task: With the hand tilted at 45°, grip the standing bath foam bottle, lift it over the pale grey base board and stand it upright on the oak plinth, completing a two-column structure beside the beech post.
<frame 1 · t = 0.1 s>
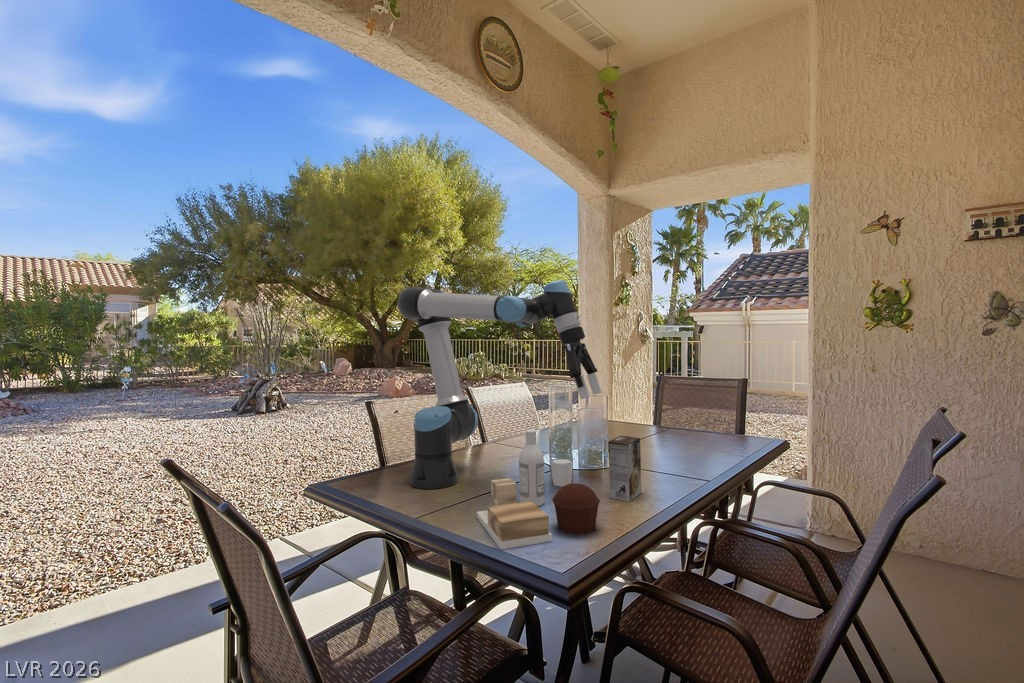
hand: (591, 395, 145), 28 cm above the table, tool tilted 20°, fingers open, 13 cm apart
muffin: (576, 528, 115), on the table
white cup: (562, 484, 150), on the table
bath foam: (532, 503, 133), on the table
beech post: (504, 513, 121), resting on base board
coffee box: (625, 496, 138), on the table
base board: (512, 528, 115), on the table
oak plinth: (517, 528, 111), resting on base board
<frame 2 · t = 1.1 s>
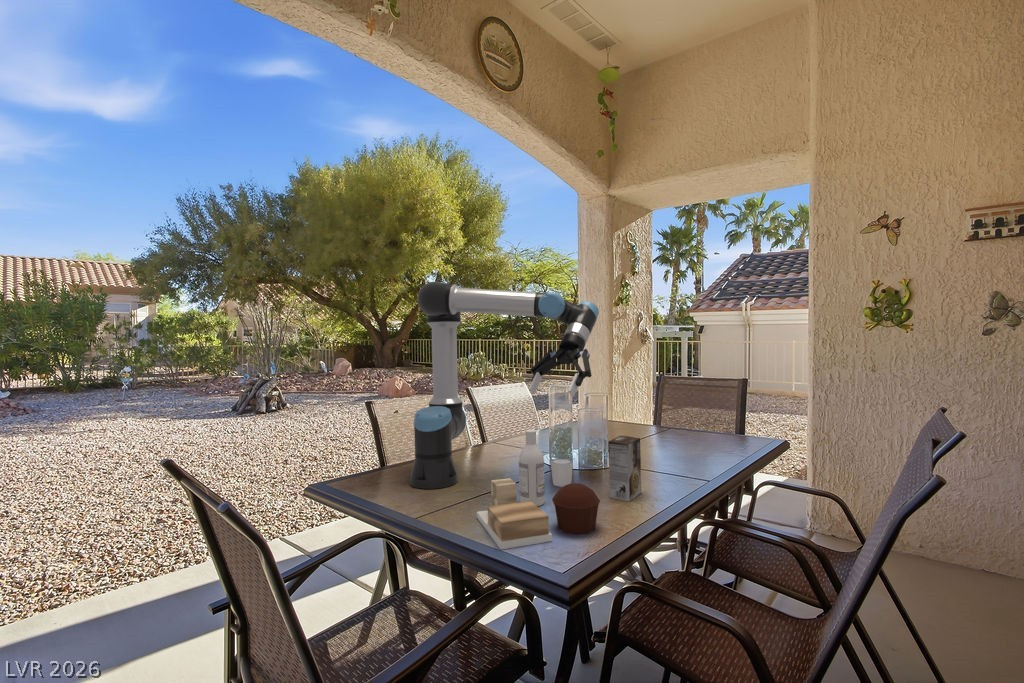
hand: (550, 392, 141), 29 cm above the table, tool tilted 45°, fingers open, 13 cm apart
nothing on the table moved.
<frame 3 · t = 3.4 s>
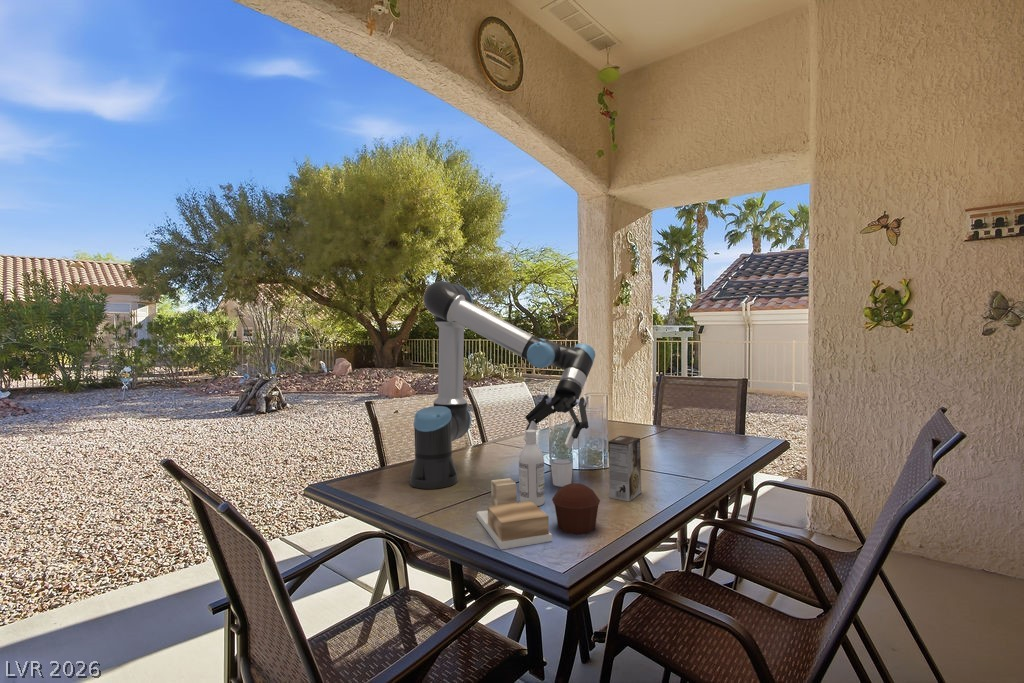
hand: (546, 444, 137), 15 cm above the table, tool tilted 45°, fingers open, 13 cm apart
nothing on the table moved.
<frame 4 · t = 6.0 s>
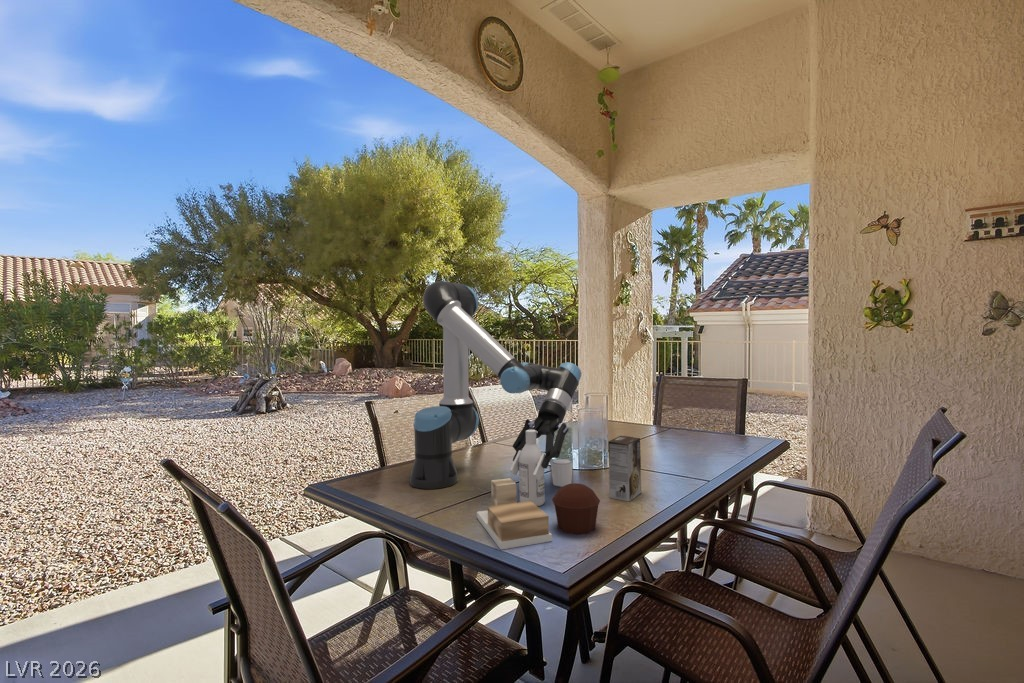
hand: (524, 475, 130), 9 cm above the table, tool tilted 45°, fingers closed on bath foam, 7 cm apart
bath foam: (532, 503, 133), on the table, touching gripper
everything else where it was.
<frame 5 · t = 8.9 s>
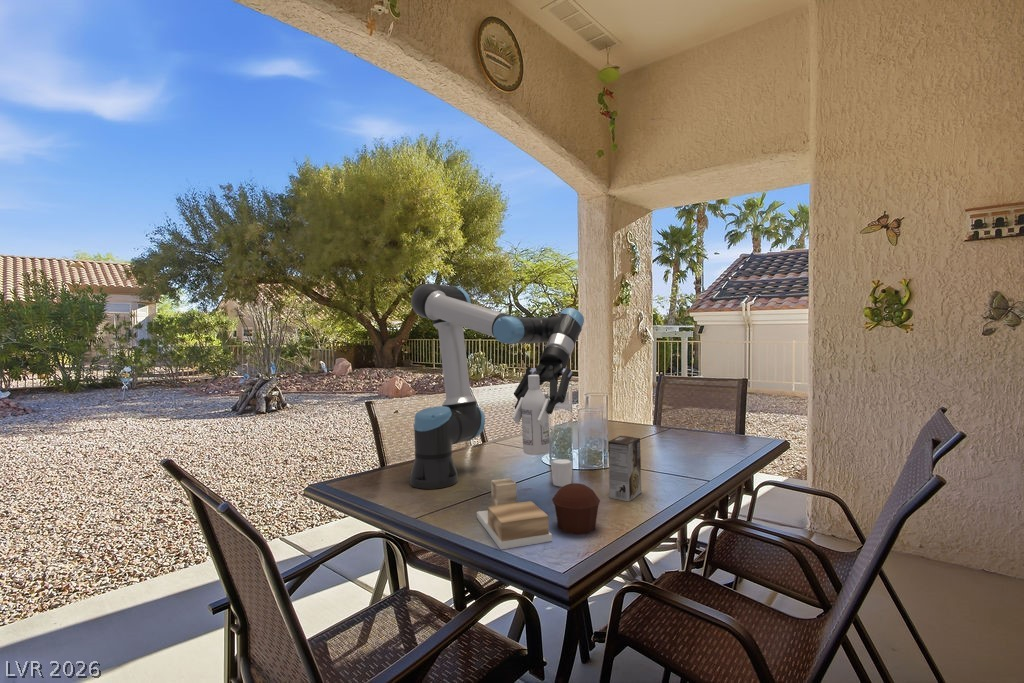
hand: (527, 421, 122), 24 cm above the table, tool tilted 45°, fingers closed on bath foam, 7 cm apart
bath foam: (536, 452, 125), point 16 cm above the table, touching gripper
everything else where it was.
when the fingers open (15 cm above the table, at t = 12.2 s): bath foam drops 1 cm, resting on oak plinth.
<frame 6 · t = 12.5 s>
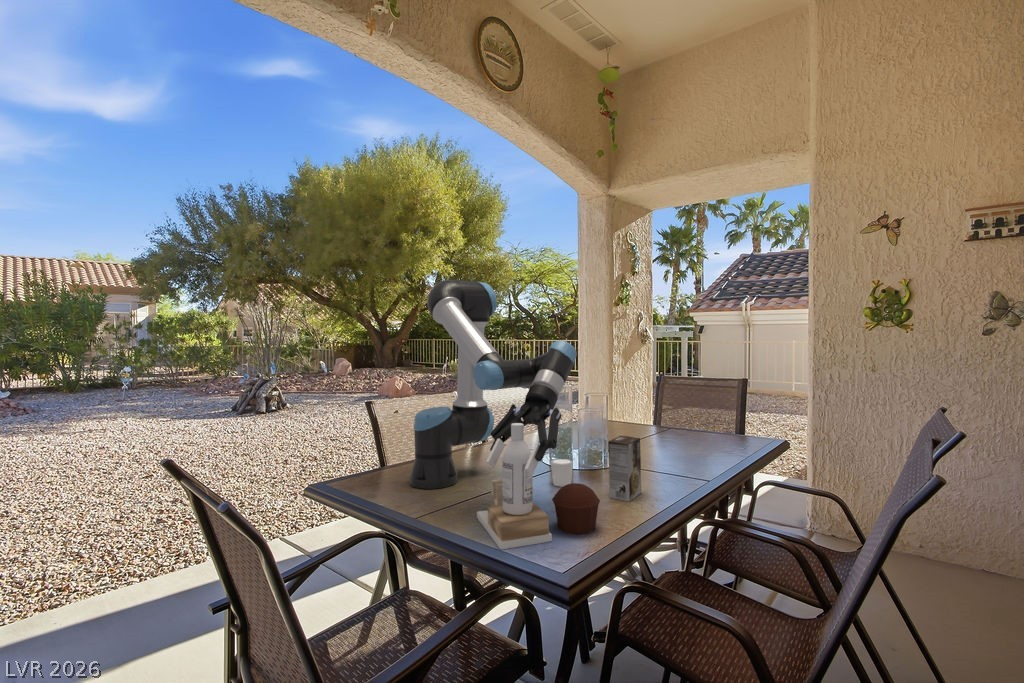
hand: (508, 468, 109), 16 cm above the table, tool tilted 45°, fingers open, 10 cm apart
bath foam: (517, 511, 111), point 5 cm above the table, touching oak plinth
everything else where it was.
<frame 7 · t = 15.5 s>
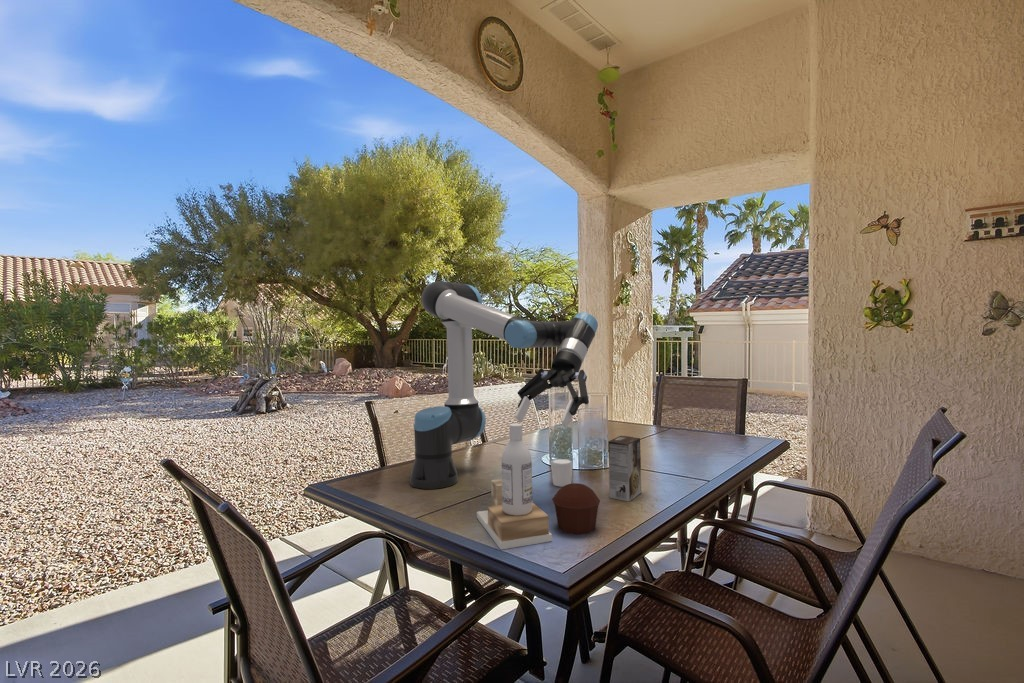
hand: (540, 422, 120), 25 cm above the table, tool tilted 45°, fingers open, 13 cm apart
nothing on the table moved.
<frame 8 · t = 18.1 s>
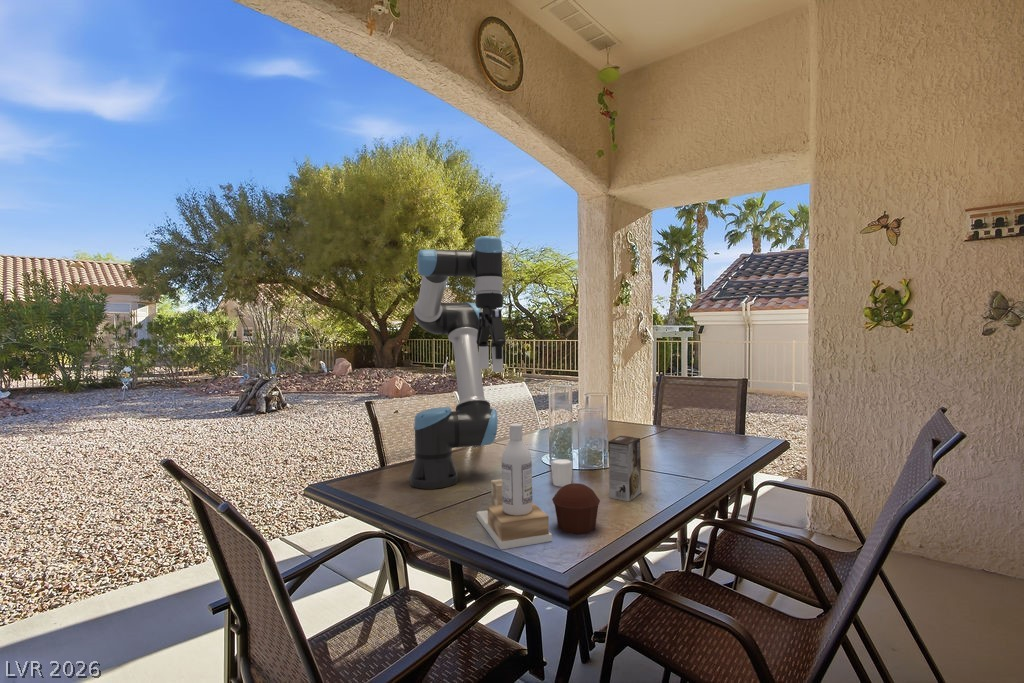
hand: (490, 370, 133), 37 cm above the table, tool pointing down, fingers open, 13 cm apart
nothing on the table moved.
at the end: bath foam inside the target area on the oak plinth (0.1 cm from its centre), point 3.8 cm above the oak plinth's base; bath foam tilted 0°; the gripper is holding nothing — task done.
